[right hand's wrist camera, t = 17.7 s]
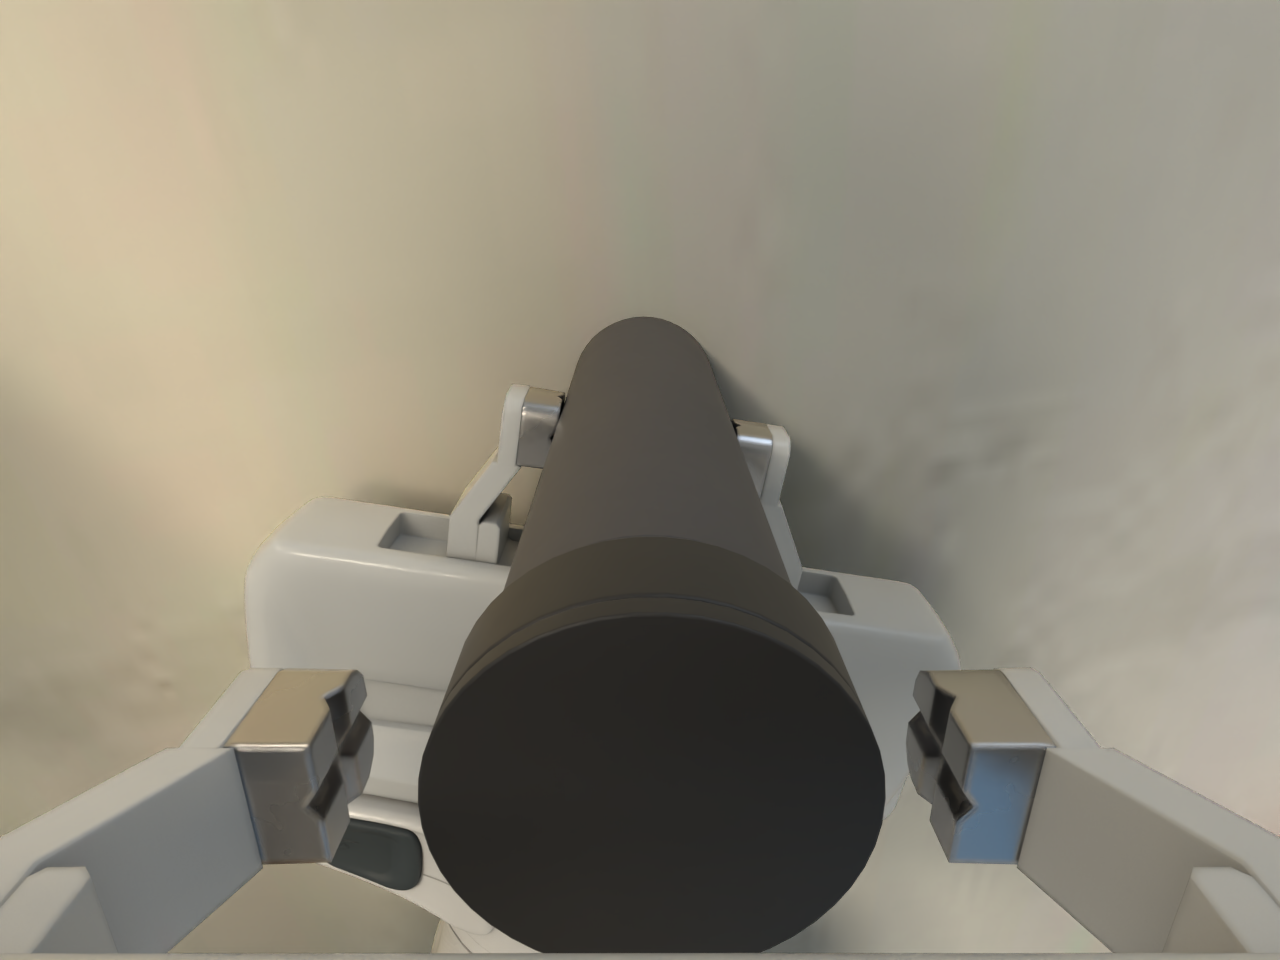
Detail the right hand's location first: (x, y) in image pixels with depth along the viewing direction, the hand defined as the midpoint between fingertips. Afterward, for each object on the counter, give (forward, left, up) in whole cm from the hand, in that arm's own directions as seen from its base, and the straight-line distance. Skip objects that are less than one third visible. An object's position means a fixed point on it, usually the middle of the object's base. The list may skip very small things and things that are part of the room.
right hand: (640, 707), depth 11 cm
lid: (0, 0, +2) cm, 2 cm away
